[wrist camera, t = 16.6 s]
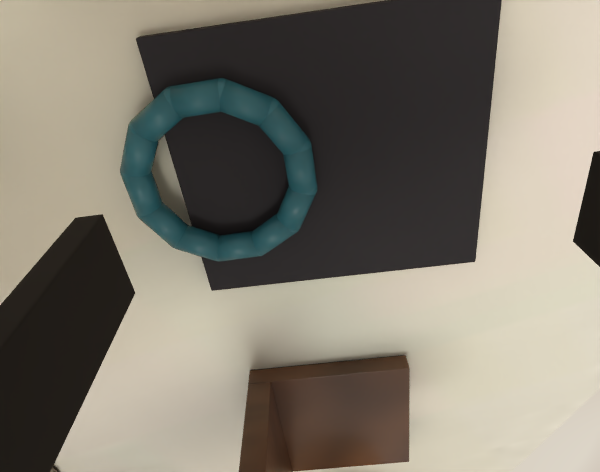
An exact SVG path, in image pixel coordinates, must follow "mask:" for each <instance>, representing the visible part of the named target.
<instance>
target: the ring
mask: <svg viewBox="0 0 600 472" xmlns="http://www.w3.org/2000/svg"><path fill="white" fill-rule="evenodd" d="M217 112H223V113H226V114H229V115H231V116H234V117H237V118H239V119H242V120H245V121H247V122H250V123H253V124H255V125H258V126H259V127H260V128H261V129H262V130H263V131H264V132H265V134H266V135H267V136H268V137H269V138H270V139H271V141H272V142H273V143H274V144H275V145H276V146H277V148H278V149H279V150H280V151H281V152H282V153H283V156H284V162H285V167H286V173H287V179H288V184H289V187H288V189H287V191H286V194H285V196H284V199H283V201H282V203H281V206H280V208H279V211H278V213H277V214H276V215H274V216H273V217H272V218H270V219H269V220H267V221H266V222H265V223H263V224H262V225H260V226H259V227H258V228H256V229H255V230H253V231H249V232H241V233H234V234H227V235H218V234H215V233H211V232H208V231H205V230H202V229H199V228H196V227H192V226H189V225H187V224H186V223H185V222H184V221H183V220H182V219H181V218H180V217H178V216H177V215H176V214H175V213H174V212H173V211H172V210H171V209H170V208H169V207H168V206H166V205H165V204H164V203H163V202H162V199H161V196H160V194H159V191H158V188H157V185H156V182H155V179H154V177H153V174H152V166H153V162H154V158H155V153H156V149H157V145H158V140H159V139H160V138H161V137H162V136H164V135H165V134H166V133H167V132H168V131H169V130H170V129H171V128H173V127H174V126H175V125H176V124H177V123H178V122H179V121H180V120H182V119H183V118H184V117H191V116H197V115H204V114H210V113H217ZM120 173H121V176H122V179H123V181H124V184H125V186H126V189H127V191H128V194H129V196H130V199H131V201H132V204H133V207H134V209H135V212H136V214H137V216H138V217H139V218H140V219H141V220H142V221H143V222H144V223H145V224H146V225H148V226H149V227H150V228H151V229H152V230H153V231H154V232H156V233H157V234H158V235H159V236H160V237H161V238H162V239H164V240H165V241H166V242H167V243H168V244H169V245H170V246H172V247H173V248H175V249H178V250H181V251H184V252H188V253H191V254H194V255H197V256H201V257H204V258H207V259H211V260H214V261H227V260H235V259H243V258H250V257H258V256H262V255H264V254H266V253H267V252H269V251H270V250H272V249H273V248H275V247H276V246H278V245H279V244H281V243H282V242H283V241H285V240H286V239H288V238H289V237H291V236H292V235H294V234H295V233H296V232H298V231H299V229H300V227H301V225H302V223H303V221H304V219H305V216H306V214H307V212H308V210H309V208H310V206H311V203H312V201H313V199H314V197H315V195H316V192H317V180H316V173H315V166H314V159H313V152H312V145H311V142H310V139H309V138H308V137H307V135H306V134H305V133H304V132H303V131H302V129H301V128H300V127H299V126H298V124H297V123H296V122H295V121H294V119H293V118H292V117H291V116H290V115H289V113H288V112H287V111H286V110H285V108H284V107H283V106H282V105H281V104H280V102H279V101H278V100H277V99H275V98H273V97H271V96H268V95H266V94H263V93H261V92H258V91H256V90H253V89H251V88H248V87H246V86H243V85H240V84H238V83H235V82H233V81H230V80H228V79H224V78H218V79H212V80H206V81H199V82H193V83H187V84H181V85H174V86H170V87H167V88H166V89H164V90H163V91H162V92H161V93H160V94H159V95H158V96H157V97H156V98H155V99H154V100H153V101H151V102H150V103H149V104H148V105H147V106H146V107H145V108H144V109H143V110H142V111H141V112H140V113H139V114H138V115H137V116H136V117H134V118H133V119H132V120H131V122H130V123H129V126H128V130H127V136H126V141H125V146H124V151H123V156H122V162H121V167H120Z"/></svg>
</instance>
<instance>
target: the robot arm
mask: <svg viewBox="0 0 600 472" xmlns="http://www.w3.org/2000/svg"><path fill="white" fill-rule="evenodd" d="M573 242H574V243H575V244H576V245H577V246H579V247H580V248H581V249H582V250H583V251H584V252H585V253H586V254H587V255H588V256H589V257H590V258H591V259H592V260H593V261H594V262H595V263H596V264H597V265H598V266H599V267H600V151H597V152H594V153H593V157H592V162H591V166H590V170H589V175H588V179H587V183H586V188H585V192H584V196H583V200H582V205H581V209H580V213H579V218H578V222H577V226H576V231H575V235H574V239H573ZM134 294H135V291H134V289H133V286H132V284H131V282H130V279H129V277H128V274H127V272H126V269H125V267H124V265H123V262H122V260H121V257H120V255H119V253H118V250H117V248H116V245H115V243H114V241H113V238H112V236H111V233H110V231H109V229H108V226H107V224H106V221H105V219H104V217H103V214H102V215H94V216H86V217H78V218H75V219H74V220H73V221H72V223H71V224H70V225H69V226H68V227H67V228H66V230H65V231H64V232H63V233H62V234H61V235H60V237H59V238H58V239H57V240H56V241H55V242H54V243H53V245H52V246H51V247H50V248H49V249H48V250H47V252H46V253H45V254H44V255H43V256H42V257H41V259H40V260H39V261H38V262H37V263H36V264H35V266H34V267H33V268H32V269H31V270H30V271H29V273H28V274H27V275H26V276H25V277H24V278H23V280H22V281H21V282H20V283H19V284H18V285H17V287H16V288H15V289H14V290H13V291H12V292H11V294H10V295H9V296H8V297H7V298H6V299H5V300H4V302H3V303H2V304H1V305H0V472H57V471H56V470H55V469H54V468H53V465H54V463H55V461H56V458H57V456H58V454H59V452H60V450H61V448H62V446H63V444H64V442H65V440H66V437H67V435H68V433H69V431H70V429H71V427H72V425H73V423H74V421H75V419H76V416H77V414H78V412H79V410H80V408H81V406H82V404H83V402H84V400H85V397H86V395H87V393H88V391H89V389H90V387H91V385H92V383H93V381H94V379H95V376H96V374H97V372H98V370H99V368H100V366H101V364H102V362H103V360H104V357H105V355H106V353H107V351H108V349H109V347H110V345H111V343H112V341H113V339H114V336H115V334H116V332H117V330H118V328H119V326H120V324H121V322H122V320H123V318H124V315H125V313H126V311H127V309H128V307H129V305H130V303H131V301H132V299H133V296H134Z"/></svg>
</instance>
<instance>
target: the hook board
mask: <svg viewBox="0 0 600 472" xmlns="http://www.w3.org/2000/svg"><path fill="white" fill-rule="evenodd" d="M248 384H249V385H248V393H247V402H246V411H245V420H244V429H243V438H242V447H241V457H240V466H239V472H293V471H303V470H315V469H327V468H339V467H351V466H363V465H375V464H386V463H398V462H409V365H408V362H407V358H406V355H403V356H393V357H383V358H372V359H362V360H352V361H342V362H332V363H322V364H311V365H301V366H291V367H281V368H271V369H261V370H250V374H249V383H248Z"/></svg>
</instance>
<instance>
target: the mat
mask: <svg viewBox="0 0 600 472" xmlns="http://www.w3.org/2000/svg"><path fill="white" fill-rule="evenodd" d="M500 10H501V0H387V1H380V2H373V3H366V4H359V5H352V6H345V7H338V8H332V9H325V10H318V11H311V12H304V13H297V14H290V15H284V16H277V17H270V18H263V19H256V20H249V21H242V22H236V23H229V24H222V25H215V26H208V27H201V28H194V29H187V30H181V31H174V32H167V33H160V34H153V35H146V36H140V37H138V38H136V41H137V44H138V48H139V51H140V54H141V58H142V61H143V64H144V68H145V71H146V74H147V77H148V81H149V84H150V87H151V91H152V94H153V97H154V99H155V98H156V97H157V96H158V95H159V94H160V93H161V92H162V91H163V90H164V89H166V88H167V87H170V86H174V85H181V84H187V83H193V82H199V81H206V80H212V79H218V78H224V79H228V80H230V81H233V82H235V83H238V84H240V85H243V86H246V87H248V88H251V89H253V90H256V91H258V92H261V93H263V94H266V95H268V96H271V97H273V98H275V99H277V100H278V101H279V102H280V104H281V105H282V106H283V107H284V108H285V110H286V111H287V112H288V113H289V115H290V116H291V117H292V118H293V119H294V121H295V122H296V123H297V124H298V126H299V127H300V128H301V129H302V131H303V132H304V133H305V134H306V135H307V137H308V138H309V139H310V142H311V145H312V152H313V159H314V166H315V173H316V180H317V192H316V195H315V197H314V199H313V201H312V203H311V206H310V208H309V210H308V212H307V214H306V216H305V219H304V221H303V223H302V225H301V227H300V229H299V231H298V232H296V233H295V234H294V235H292V236H291V237H289V238H288V239H286V240H285V241H283V242H282V243H281V244H279V245H278V246H276V247H275V248H273V249H272V250H270V251H269V252H267V253H266V254H264V255H262V256H258V257H250V258H243V259H235V260H227V261H214V260H211V259H207V258H204V257H202V260H203V263H204V267H205V270H206V273H207V277H208V280H209V283H210V287H211V290H222V289H231V288H240V287H249V286H258V285H267V284H276V283H285V282H295V281H304V280H313V279H322V278H331V277H340V276H349V275H358V274H367V273H377V272H386V271H395V270H404V269H413V268H422V267H431V266H440V265H449V264H459V263H468V262H475V259H476V249H477V239H478V229H479V219H480V209H481V199H482V189H483V179H484V169H485V159H486V149H487V139H488V130H489V120H490V110H491V100H492V90H493V80H494V70H495V60H496V50H497V40H498V30H499V20H500ZM165 137H166V141H167V144H168V147H169V150H170V154H171V157H172V160H173V164H174V167H175V170H176V174H177V177H178V180H179V184H180V187H181V190H182V194H183V197H184V200H185V204H186V207H187V210H188V214H189V217H190V220H191V224H192V227H196V228H199V229H202V230H205V231H208V232H211V233H215V234H218V235H227V234H234V233H241V232H249V231H253V230H255V229H256V228H258V227H259V226H260V225H262V224H263V223H265V222H266V221H267V220H269V219H270V218H272V217H273V216H274V215H276V214H277V213H278V211H279V208H280V206H281V203H282V201H283V199H284V196H285V194H286V191H287V189H288V187H289V184H288V179H287V173H286V167H285V162H284V156H283V153H282V152H281V151H280V150H279V149H278V148H277V146H276V145H275V144H274V143H273V142H272V141H271V139H270V138H269V137H268V136H267V135H266V134H265V132H264V131H263V130H262V129H261V128H260V127H259V126H258V125H255V124H253V123H250V122H247V121H245V120H242V119H239V118H237V117H234V116H231V115H229V114H226V113H223V112H217V113H210V114H204V115H197V116H191V117H184V118H183V119H182V120H180V121H179V122H178V123H177V124H176V125H175V126H174V127H173V128H171V129H170V130H169V131H168V132H167V133H166V134H165Z"/></svg>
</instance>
